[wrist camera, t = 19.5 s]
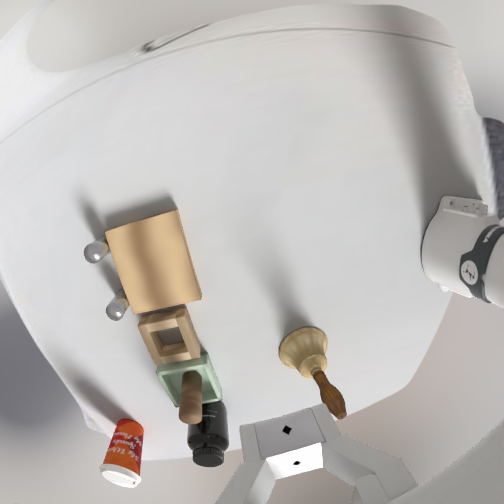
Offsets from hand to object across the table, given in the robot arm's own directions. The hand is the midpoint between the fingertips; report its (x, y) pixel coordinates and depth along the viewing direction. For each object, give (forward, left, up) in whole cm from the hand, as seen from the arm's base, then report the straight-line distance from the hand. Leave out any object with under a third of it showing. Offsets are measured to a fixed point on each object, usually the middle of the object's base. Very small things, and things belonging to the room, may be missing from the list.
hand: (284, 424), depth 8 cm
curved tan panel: (+11, 0, -30) cm, 31 cm away
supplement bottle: (+12, +29, -29) cm, 43 cm away
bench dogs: (+17, 0, -29) cm, 34 cm away
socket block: (+12, +11, -29) cm, 33 cm away
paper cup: (+30, +32, -29) cm, 53 cm away
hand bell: (-7, +20, -29) cm, 36 cm away
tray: (+12, +20, -29) cm, 37 cm away
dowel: (+12, +20, -28) cm, 37 cm away
